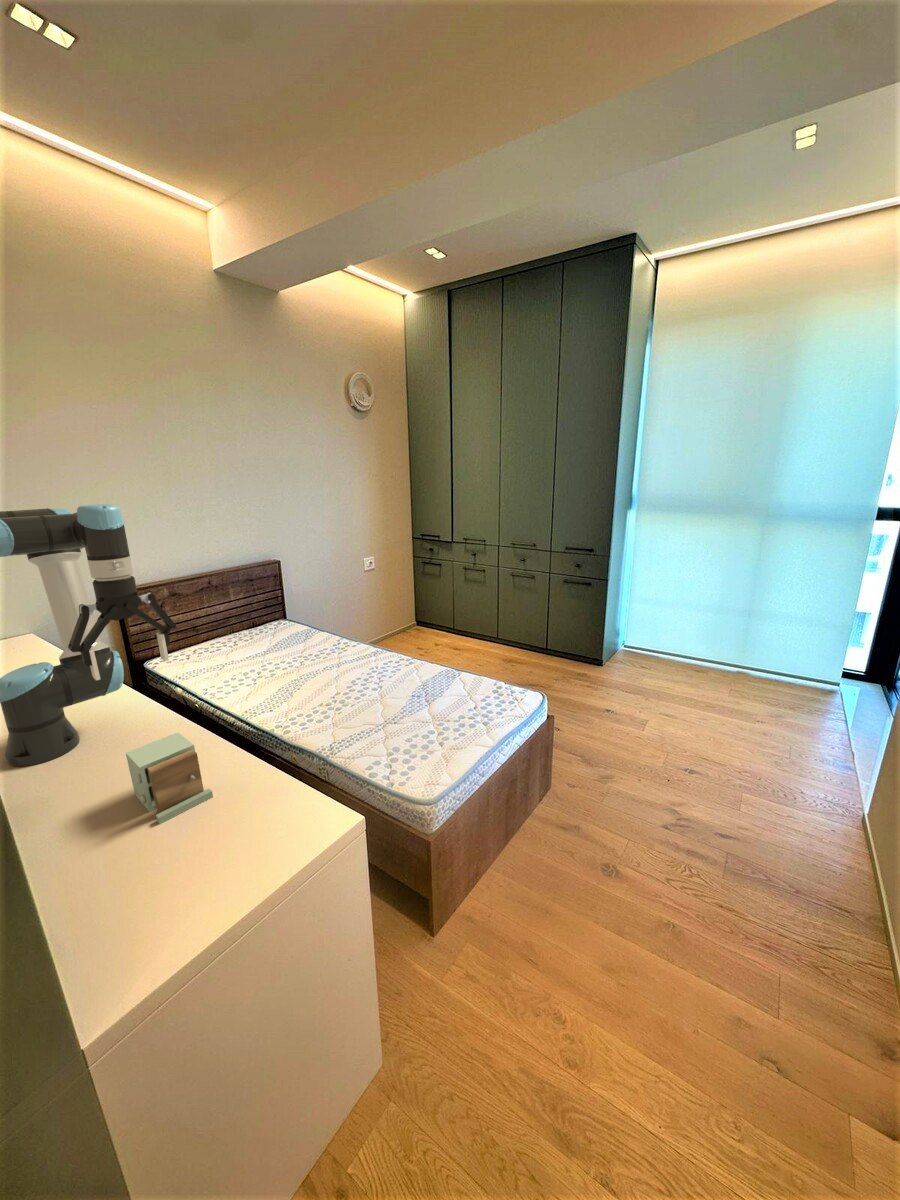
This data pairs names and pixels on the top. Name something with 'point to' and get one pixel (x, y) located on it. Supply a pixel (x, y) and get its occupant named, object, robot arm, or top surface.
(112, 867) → the top surface
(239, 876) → the top surface
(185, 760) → the brown boxy piece
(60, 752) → the robot arm
